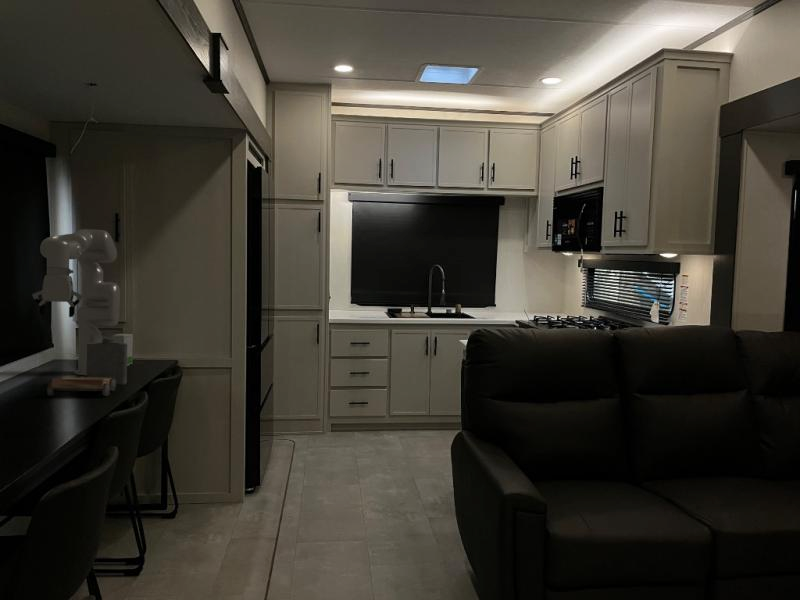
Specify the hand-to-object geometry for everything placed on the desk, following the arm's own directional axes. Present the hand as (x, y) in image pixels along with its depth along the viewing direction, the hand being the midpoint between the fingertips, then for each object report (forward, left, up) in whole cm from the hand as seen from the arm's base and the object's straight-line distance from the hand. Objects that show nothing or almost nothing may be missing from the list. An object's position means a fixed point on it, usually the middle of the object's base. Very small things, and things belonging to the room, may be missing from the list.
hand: (57, 316), depth 231 cm
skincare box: (-65, +9, -31) cm, 73 cm away
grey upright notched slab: (-22, +13, -31) cm, 40 cm away
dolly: (-3, +9, -31) cm, 32 cm away
